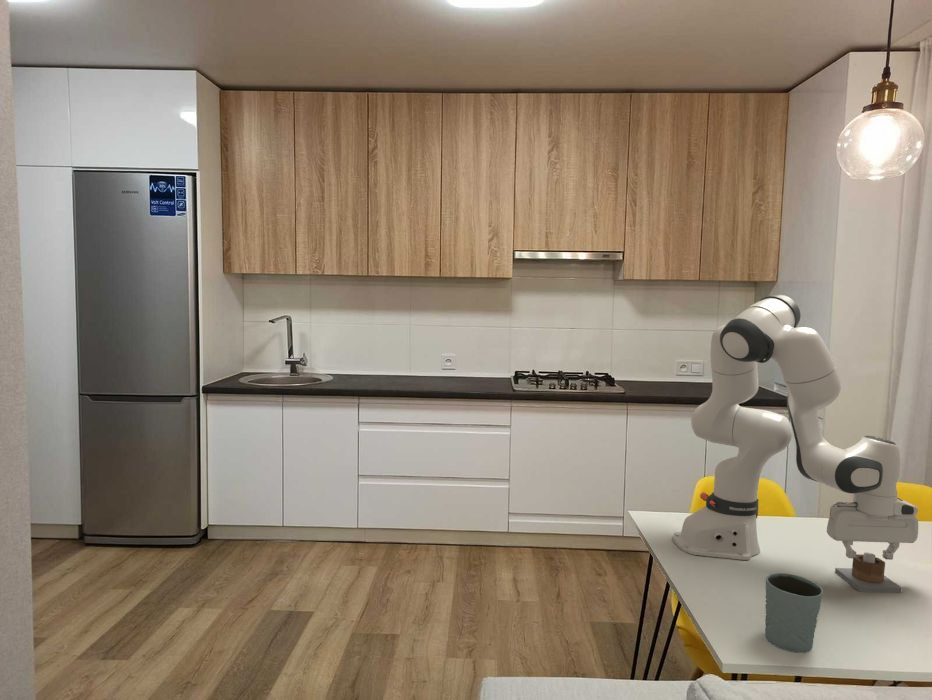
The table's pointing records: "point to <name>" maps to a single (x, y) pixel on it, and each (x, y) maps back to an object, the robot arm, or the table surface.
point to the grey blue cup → (791, 611)
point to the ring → (868, 570)
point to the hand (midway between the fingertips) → (869, 558)
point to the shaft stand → (865, 586)
